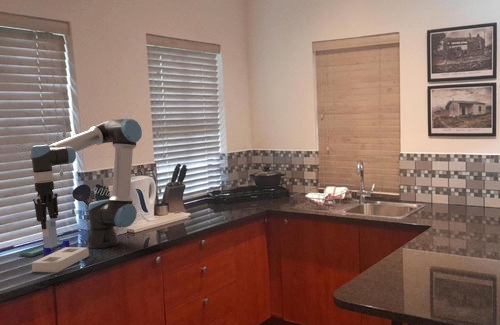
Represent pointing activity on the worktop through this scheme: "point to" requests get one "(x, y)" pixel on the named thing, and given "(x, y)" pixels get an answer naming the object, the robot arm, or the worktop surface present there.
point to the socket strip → (60, 259)
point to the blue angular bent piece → (48, 251)
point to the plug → (51, 234)
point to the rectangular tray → (38, 250)
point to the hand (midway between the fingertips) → (49, 234)
